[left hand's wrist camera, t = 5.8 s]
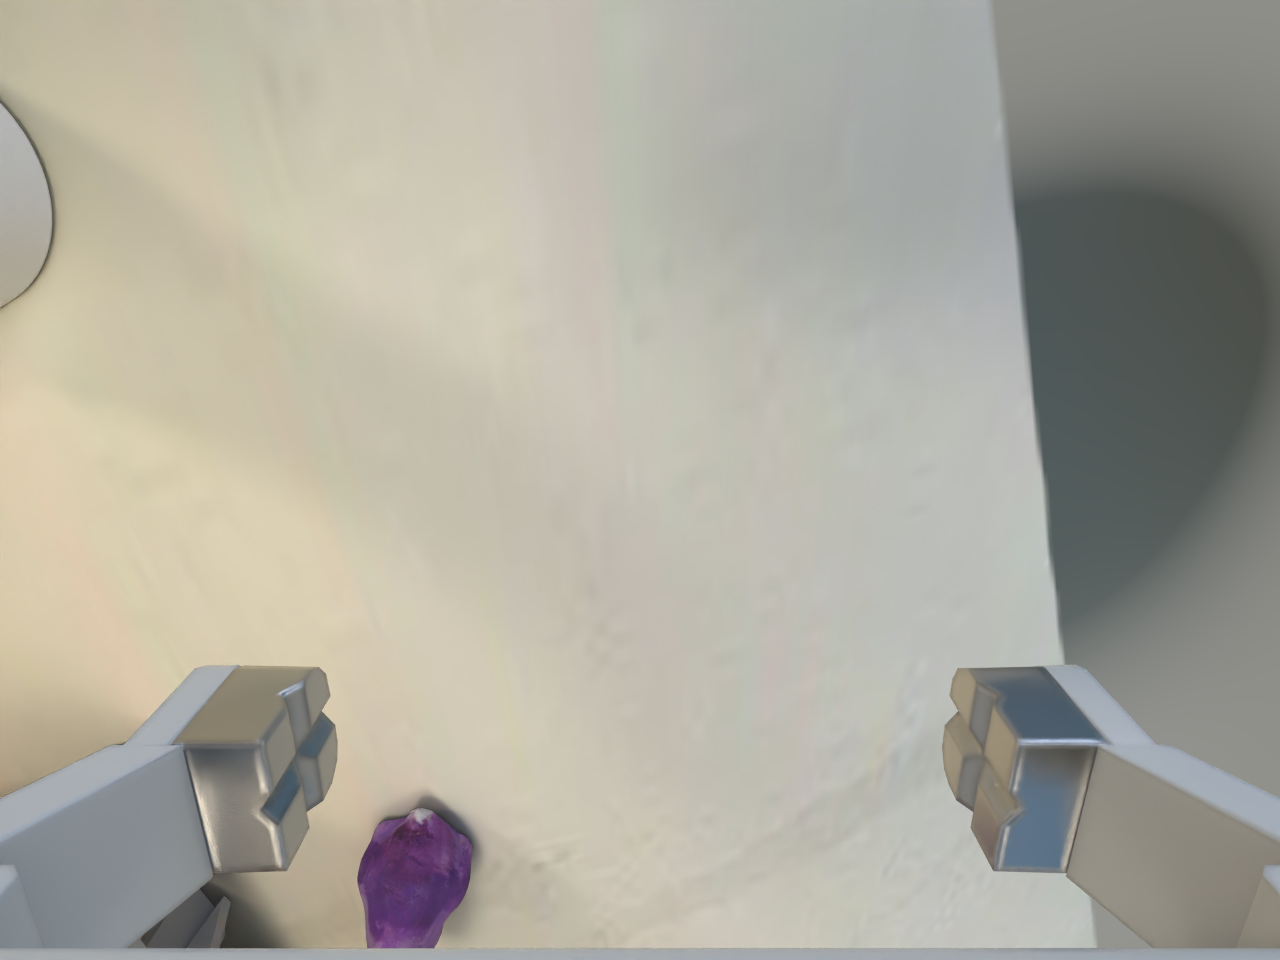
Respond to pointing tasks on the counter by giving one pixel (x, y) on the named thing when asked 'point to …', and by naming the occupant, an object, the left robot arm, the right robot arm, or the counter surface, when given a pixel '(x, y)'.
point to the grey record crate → (189, 925)
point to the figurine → (412, 880)
